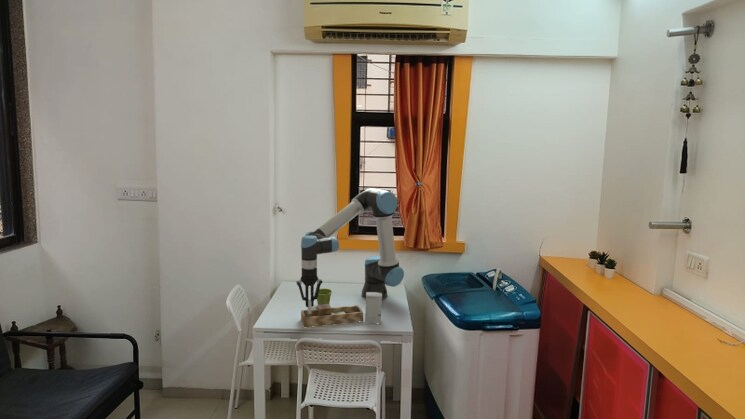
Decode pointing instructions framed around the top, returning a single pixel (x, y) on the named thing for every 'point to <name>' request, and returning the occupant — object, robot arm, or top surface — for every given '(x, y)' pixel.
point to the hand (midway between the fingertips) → (309, 312)
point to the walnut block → (323, 309)
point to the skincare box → (373, 307)
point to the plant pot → (324, 296)
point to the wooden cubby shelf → (332, 316)
